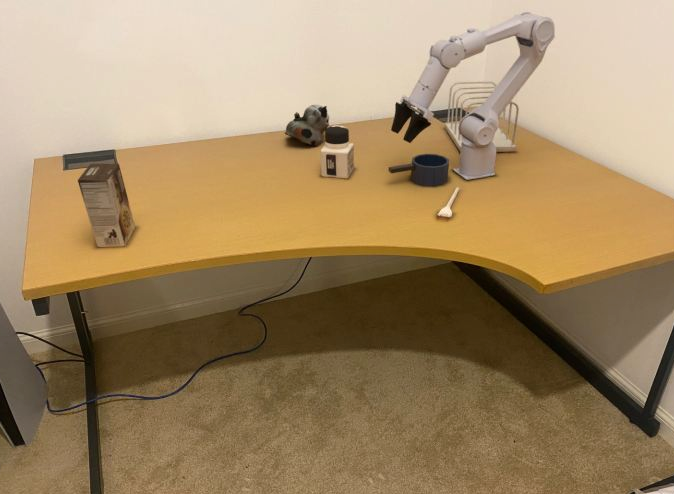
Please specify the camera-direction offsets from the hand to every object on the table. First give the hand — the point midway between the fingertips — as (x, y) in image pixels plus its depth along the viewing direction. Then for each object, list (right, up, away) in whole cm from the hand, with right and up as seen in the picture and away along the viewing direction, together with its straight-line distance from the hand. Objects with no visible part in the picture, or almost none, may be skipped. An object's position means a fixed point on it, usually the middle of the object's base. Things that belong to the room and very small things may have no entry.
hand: (400, 136), depth 148 cm
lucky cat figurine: (-28, +8, +37) cm, 47 cm away
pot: (+5, -10, +10) cm, 15 cm away
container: (-17, -7, +15) cm, 23 cm away
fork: (+12, -18, -3) cm, 23 cm away
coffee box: (-66, -28, -18) cm, 74 cm away
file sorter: (+28, +9, +38) cm, 48 cm away
